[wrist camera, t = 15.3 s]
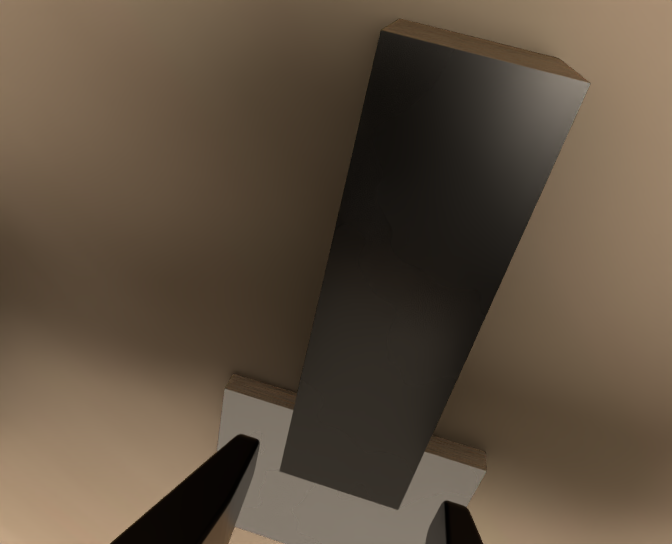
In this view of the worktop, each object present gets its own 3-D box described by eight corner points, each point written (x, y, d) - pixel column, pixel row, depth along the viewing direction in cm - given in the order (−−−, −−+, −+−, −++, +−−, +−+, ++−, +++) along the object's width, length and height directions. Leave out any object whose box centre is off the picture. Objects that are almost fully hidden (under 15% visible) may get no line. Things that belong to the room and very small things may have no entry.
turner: (290, -11, 8) (232, -8, 6) (677, 86, 8) (757, 124, 6) (220, 493, 15) (181, 575, 13) (422, 560, 14) (415, 656, 12)
